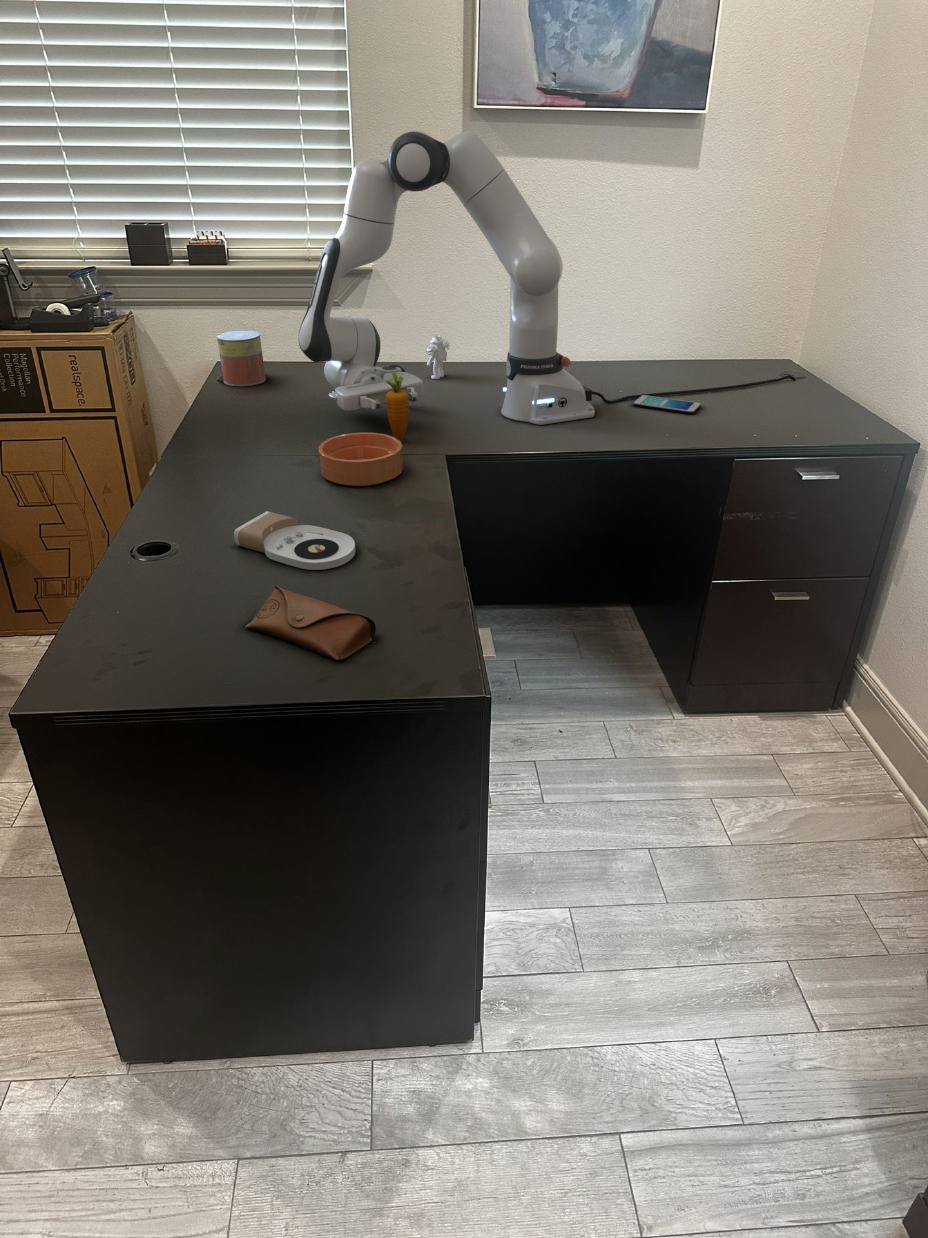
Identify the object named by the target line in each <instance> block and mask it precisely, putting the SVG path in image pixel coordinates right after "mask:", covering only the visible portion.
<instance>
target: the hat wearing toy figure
mask: <svg viewBox="0 0 928 1238" xmlns="http://www.w3.org/2000/svg"><path fill="white" fill-rule="evenodd" d="M429 343H430V344H429V345H428V347H427V348H426V351H425V352H426V354H427V356H429V358H428V361H427V363H426V367H427V368H428V369H430V367H431V365H432V374H433V375H431V376H430V378H431V379H433V380H440V379H441V378H444V377H445V372H444V370H443V363H444V362H446V361H447V357H448V351H447V350H450V344H451V343H450V342H449V341H448V340H447V339H443V336H442V335H438V334H434V337H431V340H430V341H429Z"/></svg>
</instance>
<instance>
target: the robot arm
mask: <svg viewBox="0 0 928 1238" xmlns="http://www.w3.org/2000/svg"><path fill="white" fill-rule="evenodd" d="M348 182H349V183H348V186H347V190H346V194H345V199H344V200H345V202H344V208H343V216H342V219H341V220H342V221H341V223H340V226H339V229H338V231H337V232H336V234H335V235H334V237H333V238H331V239H329V240H328V241H327V242H326V243H325V245H324V247H323V250H322V253H321V256H320V259H319V263H318V266H317V270H316V274H315V278H314V281H313V285H312V288H311V289H312V290H311V293H310V298H309V301H308V305H307V308H306V311H305V314H304V316H303V318H302V321H301V323H300V327H299V329H298V346H299V349H300V351H302V353H303V354H304V355H305V357H306V358H308V359H309V360H310V361H311V362H313V363H325V364H324V368H323V374H324V378H325V380H326V382H327V384H328V385H329V386H330V387H331V388H332V389H333V390H332V391H331V392H329V393H328V398H330V399H331V400H333V401H335V404H336V405H337V406H338V407H339V408H340V409H341V410H343V411H347V412H351V411H355V410H360V409H372V410H379V409H380V408H381V405H387V402H386V394H387V393H388V392H389V391H392V390H393V388H392V387H391V386H390V385H389V384H387V383H386V381H387V380H388V381H391V382H394V383H395V381H394V378H393V375H392V373H396V375H397V377H398V379H399V376H401V377H402V384H401V387H400V390H403V391H405V392H406V393H407V395H408V402H412V403H413V402H418V401H419V398H421V397H423V395H424V381H423V380H422V378H420V377H418V376H416V375H414V374H411V373H410V372H406V371H405V372H402V370H401V368H399V367H389V366H382V367H381V366H376V365H377V363H378V361H379V357H380V354H381V337H380V334H379V331H378V330H377V327H376V326H375V325H374V323H373V322H372V321H371V320H370V319H368V318H363V317H349V316H348V317H343V316H331V312H332V309H333V305H334V302H335V297H336V293H337V291H338V286H339V283H340V281H341V280H342V278H343V277H344V276H345V275H346V274H348V273H349V272H351V271H352V270H355V269H357V268H359V267H363V266H366V265H370V264H372V263H375V262H376V261H378V260H380V259H381V258H382V257H383V256H384V255H385V254H386V253H388V251H389V249H390V247H391V245H392V241H393V236H394V230H395V224H396V223H395V222H396V217H397V216H396V215H397V207H398V203H399V201H400V198H401V197H402V195H403V194H404V193H406V192H408V191H409V192H422V191H426V190H428V189H430V188H431V187H435V186H437V185H438V184H441V183H444V184H446V185H447V186H448V187H449V188H450V189H451V190H452V191H453V193H454V194H455V195H456V197H457V198H458V199H459V201H460V203H461V204H462V206H463V207H464V208H465V210H466V211H467V213H468V214H469V216H470V217H471V218H472V220H473V221H474V223H475V224H476V226H477V227H478V228H479V230H480V231H481V233H482V234H483V236H484V238H485V239H486V240H487V243H488V244H489V246H490V247H491V249H492V250H493V252H494V253H495V255H496V256H497V258H498V260H499V261H500V263H501V264H502V266H503V268H504V269H505V271H506V273H508V276H509V277H510V280H509V283H510V284H509V296H510V297H509V343H508V344H509V345H508V352H507V355H506V365H505V366H506V368H505V370H506V371H505V373H506V377H507V382H506V387H502V391H503V392H505V395H504V400H503V403H502V406H501V410H500V413H501V415H502V416H504V417H505V418H508V419H510V420H514V421H520V422H526V423H530V424H535V425H540V426H542V425H551V424H555V423H562V422H568V421H569V422H570V421H575V420H583V419H588V418H594V416H595V415H596V411H595V410H596V409H595V407H594V406H593V404H592V403H590V402H592V399H593V398H592V397H593V395H595V396H597V397H599V398H600V399H601V400H602V401H603V402H604V403H606V404H616V403H619V402H623V401H627V400H630V399H639V398H640V397H641V396H643V395H647V396H654V397H661V396H671V395H684V394H685V395H686V394H693V393H694V394H697V393H704V392H714V391H722V390H723V391H724V390H733V389H741V388H745V387H746V388H747V387H752V386H759V385H764V384H765V385H766V384H770V383H777V382H781V381H783V380H788V379H791V380H792V381H795V382H796V381H797V380H796V377H794V376H793V375H785V376H781V377H779V378H773V379H767V380H762V381H755V382H749V383H743V384H742V383H741V384H735V385H727V386H726V385H725V386H718V387H717V386H716V387H709V388H700V389H688V390H676V391H666V392H663V391H662V392H651V393H642V394H641V393H640V394H632V395H626V396H623V397H620V398H617V399H614V400H610V399H609V400H608V399H606V398H605V396H604V395H603V394H602V393H600V392H597V391H594V390H592V389H591V388H589V387H587V386H585V385H583V384H582V383H581V382H580V381H579V380H578V379H577V378H575V376H573V375H571V373H569V372H568V371H567V370H566V369H564V368H568V367H569V366H570V365H571V363H572V361H571V359H570V358H569V357H568V356H564V355H563V354H561V353H559V352H557V349H558V332H559V331H558V330H559V329H558V328H559V283H560V281H561V279H562V275H563V269H564V264H563V260H562V257H561V254H560V252H559V250H558V247H557V245H556V244H555V242H554V241H553V240H552V239H551V238H550V237H549V236H548V234H547V232H546V231H545V229H544V228H543V226H542V225H541V223H540V222H539V220H538V218H537V217H536V216H535V214H534V212H533V211H532V209H531V207H530V205H529V204H528V202H527V201H526V200H525V198H524V197H523V195H522V193H521V192H520V190H519V189H518V188H517V186H516V185H515V183H514V182H513V179H512V178H511V177H510V175H509V174H508V172H507V171H506V169H505V168H504V166H503V165H502V163H501V162H500V160H499V159H498V158H497V156H496V155H495V154H494V153H493V152H492V150H491V149H490V148H489V147H488V145H486V143H485V142H484V141H483V140H482V139H481V138H480V137H479V136H478V135H477V134H476V133H474V132H471V131H462V132H459V133H457V134H455V135H453V136H452V137H451V138H449V139H447V141H444V142H442V141H440V140H438V139H435V138H434V137H432V136H431V135H430V134H428V133H427V132H424V131H422V130H408V131H405V132H404V133H402V134H401V135H399V136H398V137H397V138H396V139H395V140H394V141H393V142H392V144H391V146H390V148H389V151H388V156H387V157H386V158H385V159H382V160H381V159H380V160H379V159H372V158H370V159H369V158H368V159H363V160H360V161H359V162H358V163H356V164H355V166H353V169H352V172H351V175H350V179H349V181H348ZM395 385H396V384H395Z"/></svg>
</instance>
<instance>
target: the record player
mask: <svg viewBox="0 0 928 1238" xmlns="http://www.w3.org/2000/svg"><path fill="white" fill-rule="evenodd" d="M233 537H234V538H233V539H234V543H235V545H236V546H239V547H242V548H246V549H249V550H253V551H256V552H258V553H259V552H260V553H262V554H263V553H264V554H265V556H266V557H267V558H268V559H270V560H272V561H275V562H277V563H278V562H279V563H280V564H284V565H287V566H292V567H295V568H298V569H303V570H307V571H308V570H309V571H320V570H328V569H334V568H337V567H340V566H343V565H344V564H347V563H349V562H350V561H351V560H352V559H353V558H355V557H354V556H355V555H356V542H355V540H354V539H353V537H352V536H350V535H348V534H346V533H344V532H340V531H337V530H333V529H329V528H326V527H321V526H317V525H310V524H309V525H308V524H299V520H298V519H296V518H294V517H291V516H288V515H284V514H279V513H276V512H272V511H268V510H266V511H264V512H263V513H261V514H259V515H258V516H256V517H254V518H251V520H249V521H247V522H245V523H244V524H242V525H240V526H238V527H236V528H235V530H234V532H233Z"/></svg>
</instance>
